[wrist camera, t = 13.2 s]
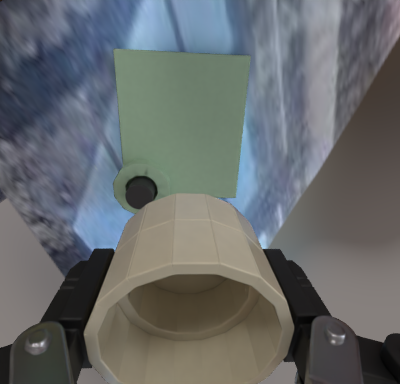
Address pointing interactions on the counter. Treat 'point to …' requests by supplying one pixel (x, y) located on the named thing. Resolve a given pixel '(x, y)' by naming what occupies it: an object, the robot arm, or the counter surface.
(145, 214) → the bowl
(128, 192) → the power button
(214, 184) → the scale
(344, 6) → the counter surface
